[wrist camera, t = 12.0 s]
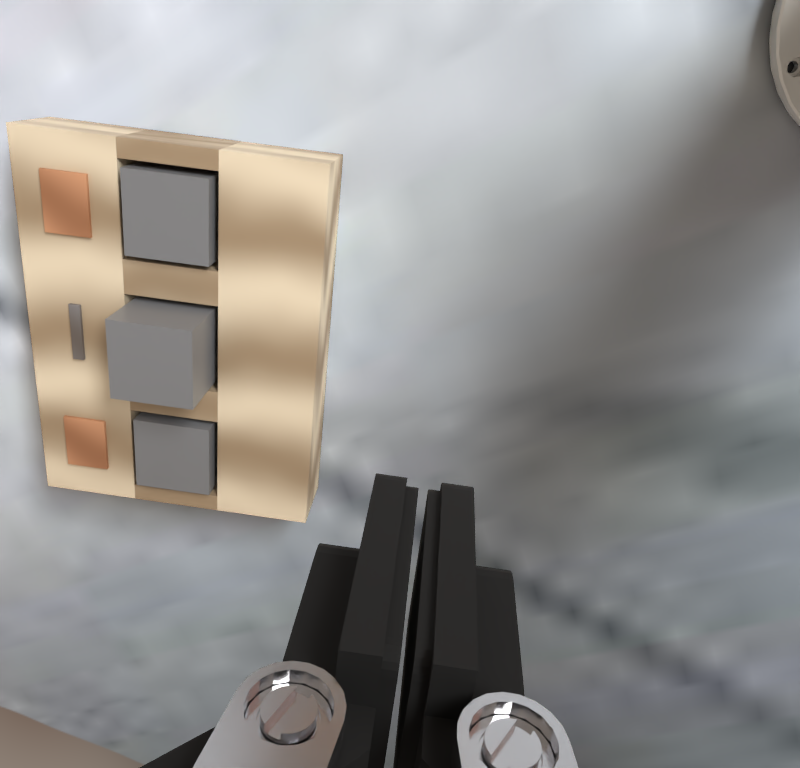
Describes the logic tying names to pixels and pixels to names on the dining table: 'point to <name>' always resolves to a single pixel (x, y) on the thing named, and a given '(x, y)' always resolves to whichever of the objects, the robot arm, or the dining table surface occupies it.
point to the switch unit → (215, 285)
